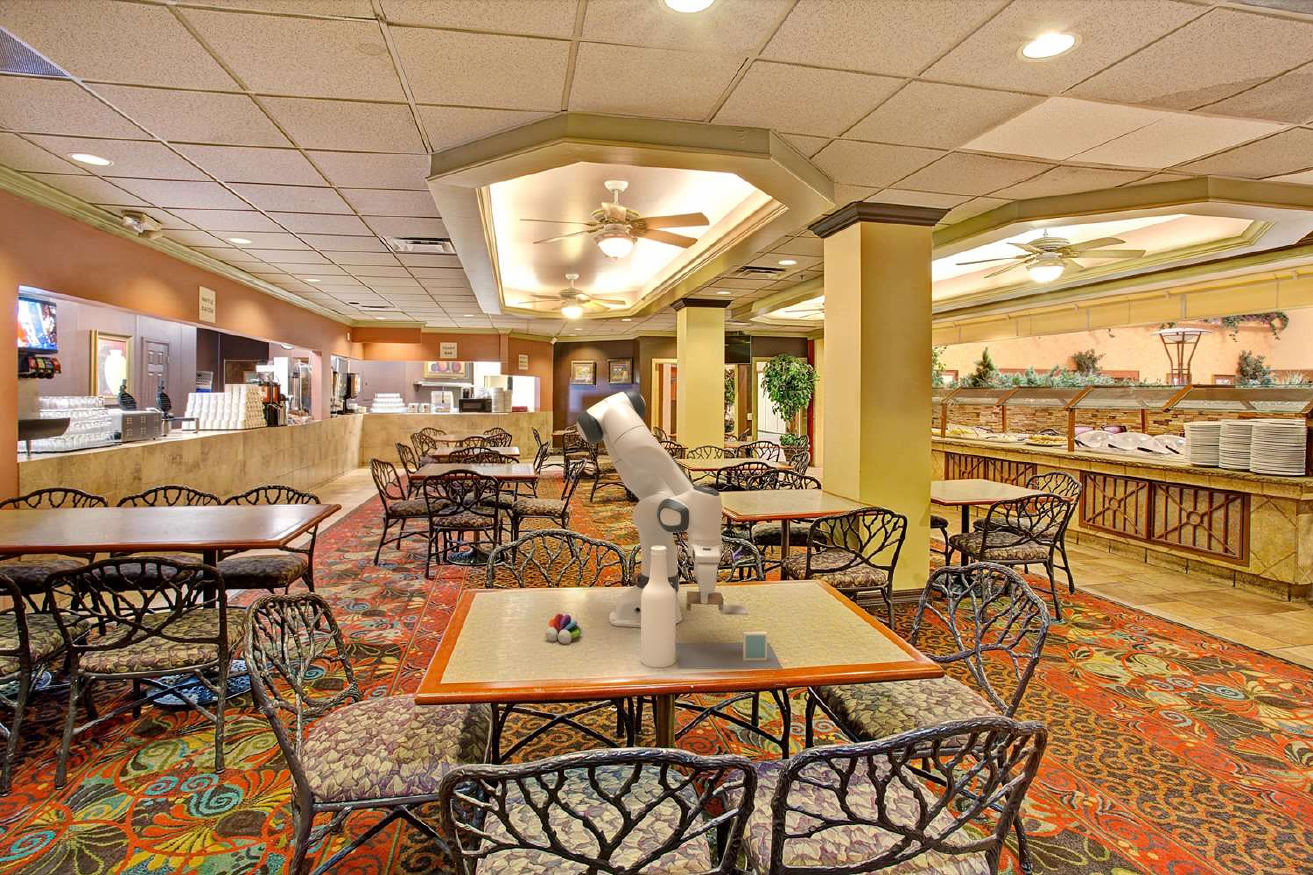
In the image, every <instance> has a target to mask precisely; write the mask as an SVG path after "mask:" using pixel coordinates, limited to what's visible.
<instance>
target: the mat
mask: <svg viewBox="0 0 1313 875" xmlns="http://www.w3.org/2000/svg"><path fill="white" fill-rule="evenodd" d="M675 654H676V658H677V659H676V661H677V667H678V670H691V669H692V670H760V669H761V670H783V666H782V664H781V663H780V661H779V659H778V657H777V655H776V653H775V651H774V650H773V647H772V646H771V643H770V642H767V660H743V642H675Z"/></svg>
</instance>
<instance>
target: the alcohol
mask: <svg viewBox="0 0 1313 875" xmlns="http://www.w3.org/2000/svg"><path fill="white" fill-rule="evenodd" d="M666 549H667V548H666V547H665V546H653V547H651V566H650V578H649V582H648V584H647V585H646V586H645V588H644V589H643V591H642V595H641V627H640V661H641V663H642V664H643V665H644V666H646V667H650V668H655V669H656V668H666V667H670V666H672V665H674V663H675V662H676V645H675V643H676V624H677V623H676V596H675V592H674V589H673V588H672V586H671V585H670V584H669V582H668V577H667V562H666V554H667V552H666Z"/></svg>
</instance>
